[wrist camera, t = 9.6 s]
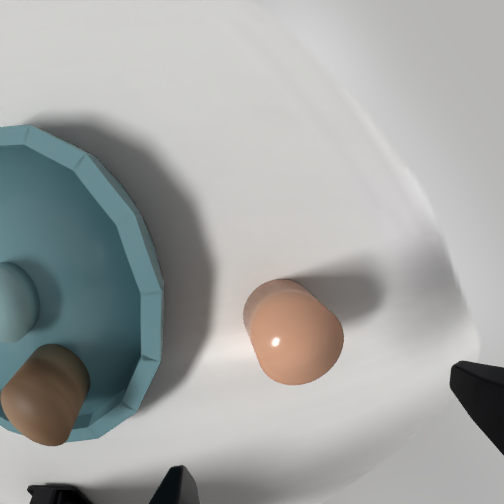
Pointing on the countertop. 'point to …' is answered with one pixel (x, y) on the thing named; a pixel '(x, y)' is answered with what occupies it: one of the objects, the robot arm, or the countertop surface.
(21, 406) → the bead walnut
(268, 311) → the bead terracotta
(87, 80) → the countertop surface
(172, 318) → the countertop surface
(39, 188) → the teal round plate
